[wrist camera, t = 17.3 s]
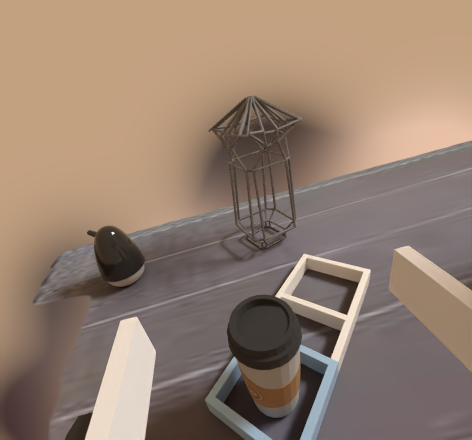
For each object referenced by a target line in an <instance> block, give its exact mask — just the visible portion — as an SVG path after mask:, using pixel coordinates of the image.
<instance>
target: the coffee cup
mask: <svg viewBox="0 0 472 440" xmlns="http://www.w3.org/2000/svg"><path fill="white" fill-rule="evenodd" d="M227 335H228V342H229V348H230V350H231V352H232V354H233V356H234V357H235V358H236V360H237V362H238V367H239V369H240V371H241V374H242V376H243V378H244V381H245V383H246V385H247V388H248V390H249V392H250V394H251V396H252V398H253V400H254V402H255V404H256V406H257V408H258V409H259V410H260V411H261V412H262V413H264V414H265V415H266V416H269V417H273V418H281V417H284V416H287V415H288V414H289V413H291V412H292V411H293V410H294V408H295V407H296V405H297V402H298V399H299V386H300V345H301V339H302V333H301V327H300V325H299V320H298V318H297V316H296V314H295V313H294V311H293V310H292V309H291V307H290V306H289V305H288V304H287V303H286V302H285V301H283V300H282V299H280V298H278V297H275V296H271V295H257V296H253V297H250V298H248V299H246V300H244V301H242V302H241V303H240V304H238V305H237V306H236V308H235V309H234V310H233V312H232V314H231V316H230V320H229V323H228V329H227Z"/></svg>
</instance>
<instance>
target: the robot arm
mask: <svg viewBox="0 0 472 440" xmlns="http://www.w3.org/2000/svg"><path fill="white" fill-rule="evenodd" d="M389 290H390V291H391V292H392V293H393V294H394V295H395V296H396V297H397V298H398V299H399V300H400V301H401V302H402V303H403V304H404V305H405V306H406V307H407V308H408V309H409V310H410V311H411V312H412V313H413V314H414V315H415V316H416V317H417V318H418V319H419V320H420V321H421V322H422V323H423V324H424V325H425V326H426V327H427V328H428V329H429V330H430V331H431V332H432V333H433V334H434V335H435V336H436V337H437V338H438V339H439V340H440V341H441V342H442V343H443V344H444V345H445V346H446V347H447V348H448V349H449V350H450V351H451V352H452V353H453V354H454V355H455V356H456V357H457V358H458V359H459V360H460V361H461V362H462V363H463V364H464V365H465V366H466V367H467V368H468V369H469V370H470V371H471V372H472V290H470V289H469V288H468V287H466V286H465V285H463V284H462V283H460V282H459V281H458V280H456V279H455V278H453V277H452V276H451V275H449V274H448V273H446V272H445V271H444V270H442V269H441V268H439V267H438V266H436V265H435V264H434V263H432V262H431V261H429V260H428V259H427V258H425V257H424V256H422V255H421V254H419V253H418V252H417V251H415V250H414V249H412V248H411V247H410V246H405V247H402V248H398V249H394V255H393V262H392V269H391V276H390V282H389ZM155 356H156V351H155V349H154V347H153V345H152V344H151V342H150V340H149V338H148V336H147V334H146V333H145V331H144V329H143V327H142V325H141V324H140V322H139V320H138V318H137V317H133V318H129V319H125V320H122V321H120V325H119V328H118V331H117V335H116V338H115V341H114V344H113V348H112V351H111V354H110V358H109V361H108V364H107V368H106V371H105V374H104V378H103V381H102V384H101V388H100V391H99V394H98V398H97V401H96V404H95V408H94V411H93V412H92V413H89V414H85V415H81V416H78V418H77V420H76V421H75V423H74V424H73V426H72V427H71V429H70V431H69V432H68V434H67V436H66V439H65V440H145V433H146V426H147V418H148V410H149V402H150V395H151V387H152V379H153V371H154V364H155Z"/></svg>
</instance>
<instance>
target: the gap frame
mask: <svg viewBox="0 0 472 440" xmlns="http://www.w3.org/2000/svg"><path fill="white" fill-rule="evenodd" d="M307 269H311V270H314V271H318V272H322V273H325V274H329V275H333V276H336V277H340V278H344V279H347V280H351V281H355V282H358V283H359V285H358V288H357V290H356V293H355V296H354V298H353V301H352V304H351V306H350V309H349V311H348V314H347V315H345V314H342V313H339V312H336V311H333V310H331V309H328V308H325V307H322V306H319V305H316V304H314V303H311V302H308V301H305V300H302V299H299V298H297V297H294V296H291V294H292V292H293V291H294V289H295V288H296V286H297V284H298V283H299V281H300V280H301V278H302V276H303V275H304V273H305V272H306V270H307ZM370 271H371V270H369V269H365V268H360V267H356V266H352V265H348V264H344V263H340V262H336V261H331V260H327V259H323V258H319V257H315V256H311V255H306V254H304V255H303V256H302V258H301V259H300V261H299V262H298V264H297V265H296V266H295V268H294V269H293V271H292V272H291V274H290V275H289V277H288V278H287V280H286V281H285V283H284V284H283V286H282V287H281V288H280V290H279V291H278V293H277V294H276V296H275V297H278V298H280V299H282V300H283V301H285V302H286V303H287V304H288V305H289V306H290V307H291V309H292V310H293V311H294V313H296V314H299V315H301V316H304V317H306V318H309V319H311V320H314V321H317V322H319V323H322V324H324V325H327V326H329V327H332V328H334V329H337V330H340V331H341V333H340V335H339V338H338V341H337V343H336V346H335V349H334V351H333V354H332V356H331V358H329V357H326V356H324V355H322V354H320V353H318V352H316V351H314V350H311V349H309V348H307V347H305V346H303V345H300V363H301V364H303V365H305V366H307V367H309V368H311V369H313V370H315V371H317V372H319V373H321V374H323V375H324V378H323V380H322V383H321V386H320V388H319V391H318V393H317V396H316V399H315V401H314V404H313V407H312V409H311V412H310V415H309V417H308V420H307V423H306V425H305V428H304V430H303V433H302V436H301V438H300V440H316V438H317V435H318V432H319V430H320V427H321V424H322V421H323V418H324V415H325V412H326V409H327V406H328V403H329V400H330V397H331V394H332V391H333V388H334V385H335V382H336V379H337V376H338V373H339V370H340V367H341V365H342V362H343V359H344V356H345V353H346V350H347V347H348V344H349V341H350V338H351V335H352V332H353V329H354V326H355V323H356V320H357V317H358V314H359V311H360V308H361V305H362V302H363V300H364V297H365V294H366V291H367V288H368V285H369V282H370ZM240 376H241V371H240V369H239V367H238V362H237V360H236V358H235V357H234V358H233V359H232V360H231V362H230V363H229V365H228V366H227V368H226V369H225V371H224V372H223V374H222V375H221V377H220V378H219V380H218V381H217V382H216V384H215V385H214V387H213V388H212V390H211V391H210V393H209V394H208V396H207V397H206V399H205V402H206V404H207V406H208V408H209V411H210V412H211V413H212V414H214V415H215V416H216V417H217V418H219V419H220V420H221V421H222V422H224V423H225V424H226V425H227V426H229V427H230V428H231V429H232V430H234V431H235V432H236V433H237V434H239V435H240V436H241V437H242V438H244V439H245V440H272V439H271V438H269V437H268V436H267V435H265V434H264V433H263V432H261V431H260V430H259V429H257V428H256V427H255V426H253V425H252V424H251V423H249V422H248V421H247V420H245V419H244V418H243V417H241V416H240V415H239V414H237V413H236V412H235V411H233V410H232V409H231V408H229V407H228V406H227V405H225V404H224V401H225V400H226V398H227V397H228V395H229V393H230V392H231V390H232V389H233V387H234V385H235V384H236V382H237V381H238V379H239V377H240Z"/></svg>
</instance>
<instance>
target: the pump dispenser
mask: <svg viewBox="0 0 472 440" xmlns="http://www.w3.org/2000/svg"><path fill="white" fill-rule="evenodd" d="M87 234H88V235H90V236H93V237H95V239H94V251H95V258H96V262H97V266H98V269H99V271H100V274H101V276H102V278H103V279H104V280H105V281H107V282H108V283H110V284H111V285H114V286H118V287H122V286H127V285H130V284H132V283H134V282H135V281H137V280H138V279H139V278H140V277H141V275H142V274H143V271H144V262H145V259H144V256H143V254H142V253H141V251H140V250H139V248H138V247H137V245H136V244H135V243H134V242H133V241H132V240H131V239H130V237H129V236H128V235H126V234H125V233H124V232H123V231H122V230H120V229H118V228H116V227H115V226H104V227H102V228H100V229H99V230H98V231H97V232H95V231H91V230H89V231H88V232H87Z"/></svg>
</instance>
